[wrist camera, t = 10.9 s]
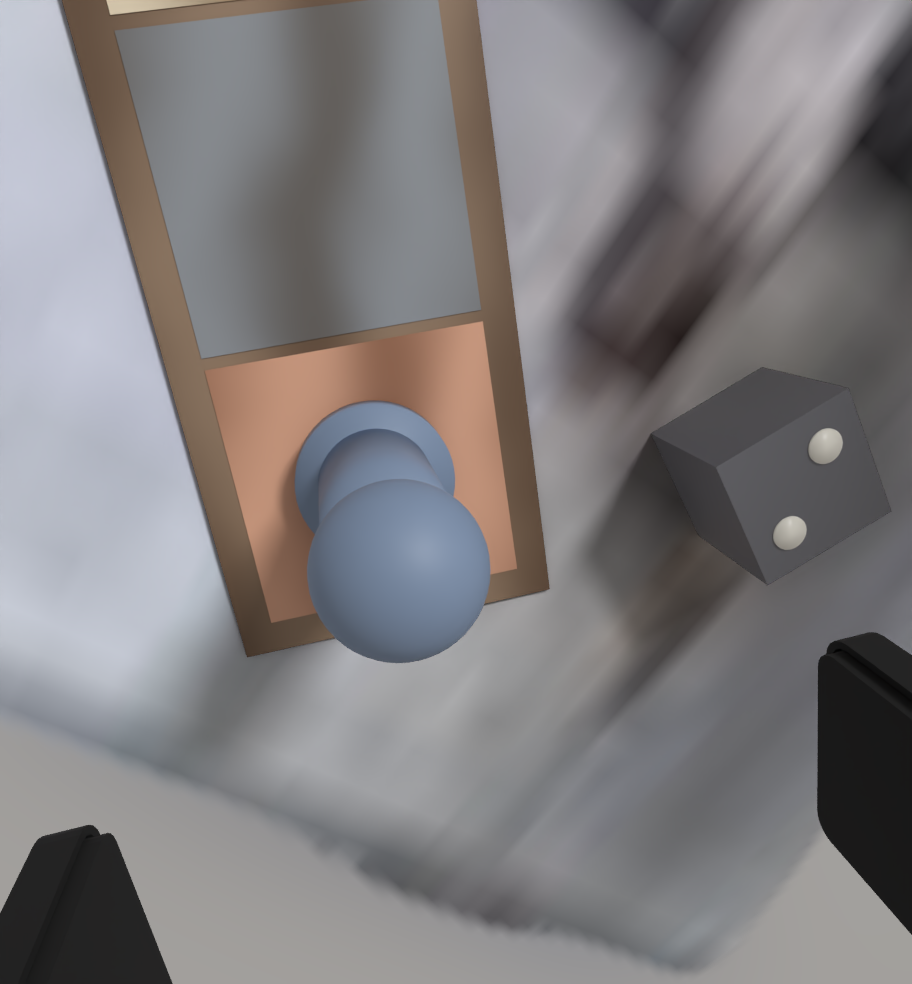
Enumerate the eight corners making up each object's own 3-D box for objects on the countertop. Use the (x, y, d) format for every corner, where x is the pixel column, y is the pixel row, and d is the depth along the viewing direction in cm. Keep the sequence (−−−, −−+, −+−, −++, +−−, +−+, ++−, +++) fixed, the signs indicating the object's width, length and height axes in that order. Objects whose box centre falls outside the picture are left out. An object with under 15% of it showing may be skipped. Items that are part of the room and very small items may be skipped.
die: (760, 366, 29) (850, 388, 24) (802, 472, 30) (892, 511, 25) (650, 433, 29) (717, 467, 24) (697, 534, 30) (768, 586, 25)
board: (412, -505, 19) (412, -513, 19) (548, 587, 30) (549, 589, 29) (-75, -488, 18) (-79, -496, 18) (247, 654, 28) (247, 657, 28)
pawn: (437, 386, 26) (515, 467, 16) (460, 531, 28) (544, 687, 18) (279, 416, 25) (255, 520, 15) (314, 563, 27) (312, 743, 17)
